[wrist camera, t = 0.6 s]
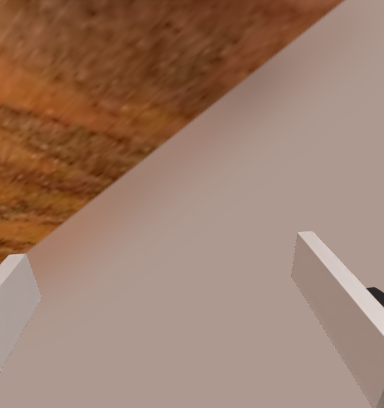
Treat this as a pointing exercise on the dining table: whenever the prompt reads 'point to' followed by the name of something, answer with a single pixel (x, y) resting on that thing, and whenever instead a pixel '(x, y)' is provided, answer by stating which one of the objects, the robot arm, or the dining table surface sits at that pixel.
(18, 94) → the dining table surface
